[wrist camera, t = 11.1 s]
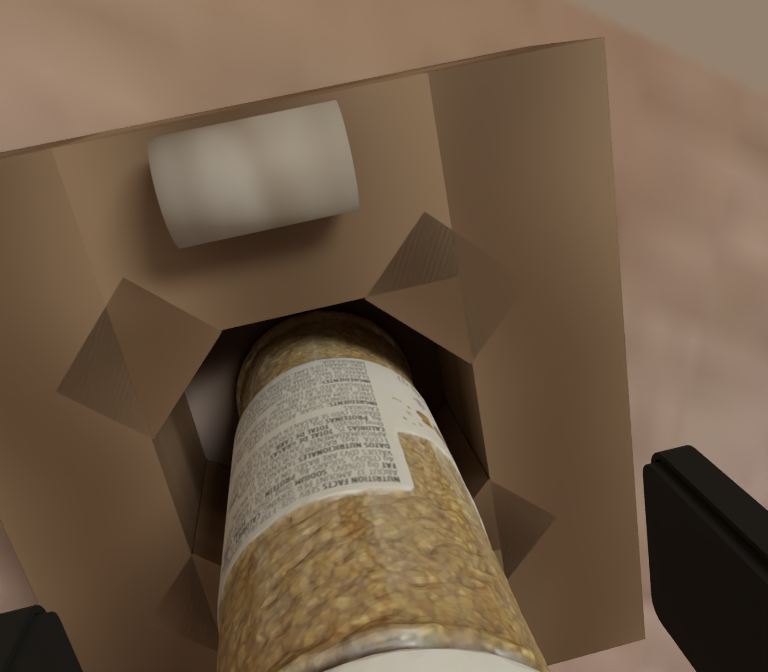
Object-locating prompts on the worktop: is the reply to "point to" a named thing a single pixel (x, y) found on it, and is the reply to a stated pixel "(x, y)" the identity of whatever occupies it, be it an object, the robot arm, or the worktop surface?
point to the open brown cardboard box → (311, 291)
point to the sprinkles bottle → (353, 520)
